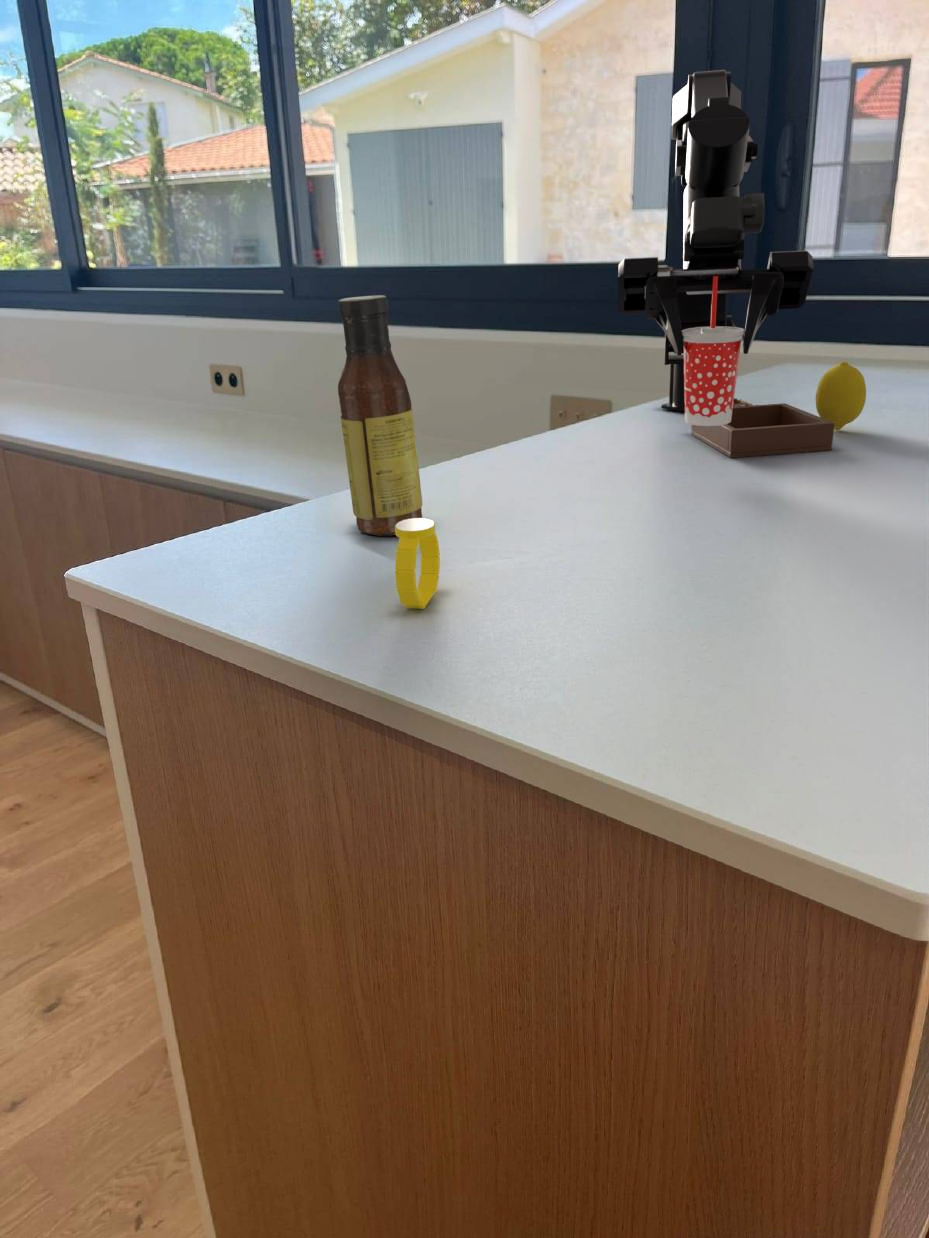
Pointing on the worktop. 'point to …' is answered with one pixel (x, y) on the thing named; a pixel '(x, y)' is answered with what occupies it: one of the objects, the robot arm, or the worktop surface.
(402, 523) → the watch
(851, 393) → the lemon
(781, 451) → the tray
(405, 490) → the sauce bottle
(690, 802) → the worktop surface
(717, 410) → the beverage cup
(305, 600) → the worktop surface
